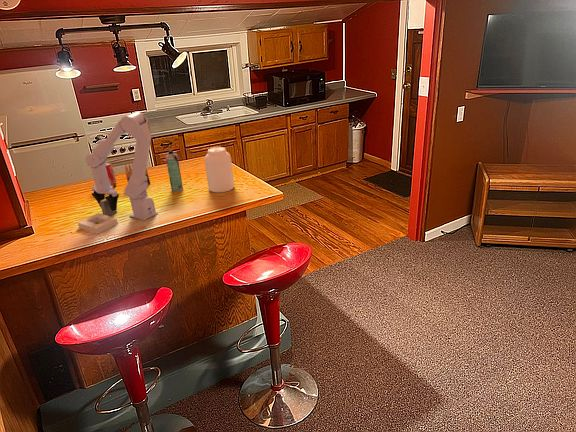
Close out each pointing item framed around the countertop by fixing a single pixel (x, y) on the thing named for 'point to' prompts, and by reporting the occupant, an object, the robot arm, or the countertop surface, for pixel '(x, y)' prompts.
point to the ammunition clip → (131, 173)
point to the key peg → (106, 208)
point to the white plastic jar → (219, 170)
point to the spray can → (174, 171)
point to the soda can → (110, 174)
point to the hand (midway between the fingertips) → (108, 208)
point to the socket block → (97, 228)
